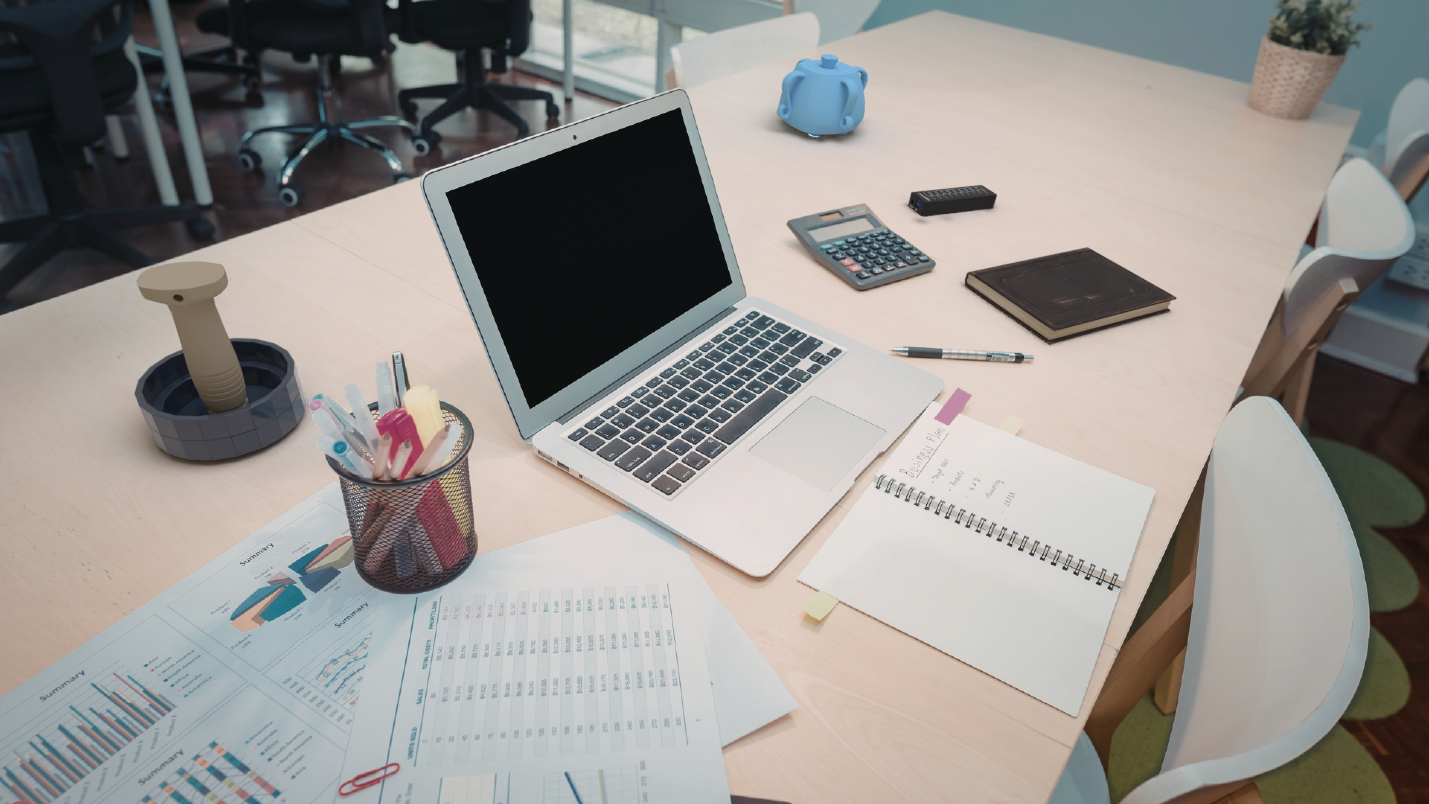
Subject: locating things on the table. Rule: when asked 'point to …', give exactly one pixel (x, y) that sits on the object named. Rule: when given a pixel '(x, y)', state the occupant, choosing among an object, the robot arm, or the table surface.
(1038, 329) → the hardcover book
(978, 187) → the multiport hub
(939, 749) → the table surface
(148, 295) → the handle
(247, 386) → the bowl
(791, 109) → the decorative pot
